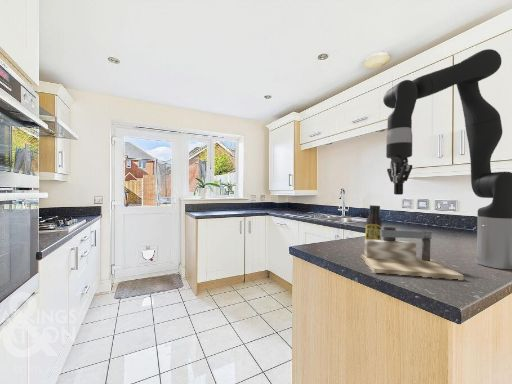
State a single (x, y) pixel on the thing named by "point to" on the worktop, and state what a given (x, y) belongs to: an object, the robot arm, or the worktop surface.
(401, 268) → the door frame board
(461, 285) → the worktop surface
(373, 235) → the sauce bottle
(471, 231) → the worktop surface
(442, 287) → the worktop surface
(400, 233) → the latch bar
